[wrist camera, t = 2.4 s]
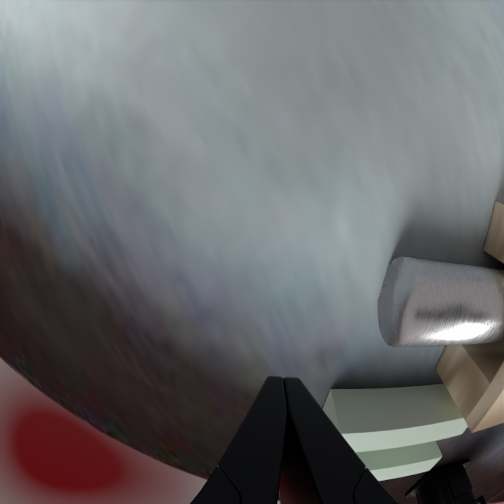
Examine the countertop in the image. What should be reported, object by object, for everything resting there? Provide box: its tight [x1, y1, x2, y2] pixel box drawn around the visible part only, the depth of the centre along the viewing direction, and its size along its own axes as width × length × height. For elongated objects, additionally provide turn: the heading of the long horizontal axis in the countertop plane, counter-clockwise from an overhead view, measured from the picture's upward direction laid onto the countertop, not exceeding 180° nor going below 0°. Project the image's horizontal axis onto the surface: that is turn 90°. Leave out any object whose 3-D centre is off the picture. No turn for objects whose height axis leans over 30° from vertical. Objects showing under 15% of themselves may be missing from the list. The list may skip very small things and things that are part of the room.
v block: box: [323, 383, 468, 481], centre depth 16 cm, size 7×10×4 cm
